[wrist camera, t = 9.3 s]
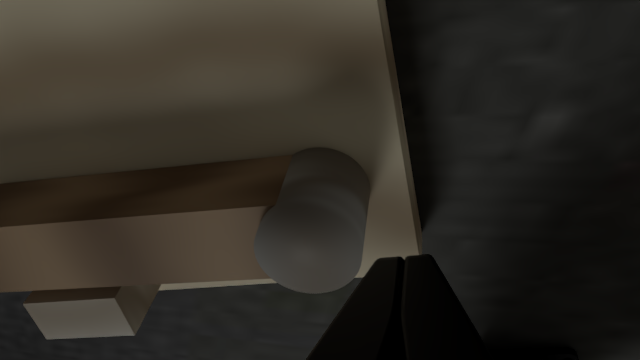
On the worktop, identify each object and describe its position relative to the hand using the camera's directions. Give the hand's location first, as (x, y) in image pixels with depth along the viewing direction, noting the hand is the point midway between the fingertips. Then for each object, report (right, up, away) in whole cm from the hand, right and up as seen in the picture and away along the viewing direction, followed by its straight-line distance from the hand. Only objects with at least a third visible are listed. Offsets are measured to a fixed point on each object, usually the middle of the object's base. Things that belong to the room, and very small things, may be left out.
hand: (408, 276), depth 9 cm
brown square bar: (-7, +1, +13) cm, 15 cm away
